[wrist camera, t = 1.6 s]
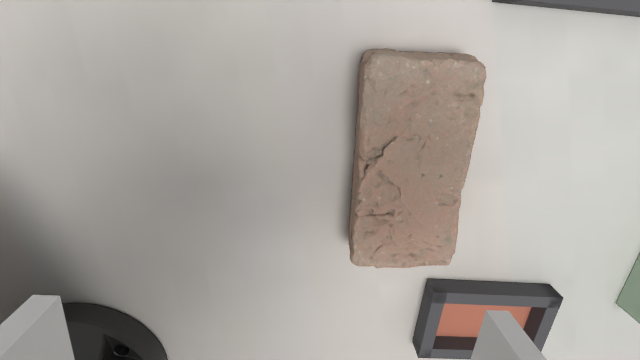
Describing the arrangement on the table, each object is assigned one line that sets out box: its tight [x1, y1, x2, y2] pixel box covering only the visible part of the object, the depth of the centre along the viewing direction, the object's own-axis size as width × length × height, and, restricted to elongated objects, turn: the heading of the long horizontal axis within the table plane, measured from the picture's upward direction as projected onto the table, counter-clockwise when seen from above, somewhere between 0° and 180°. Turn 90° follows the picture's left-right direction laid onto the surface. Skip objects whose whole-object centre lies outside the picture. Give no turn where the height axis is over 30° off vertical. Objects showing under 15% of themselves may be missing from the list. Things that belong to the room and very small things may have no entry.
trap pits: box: [412, 0, 640, 359], centre depth 29 cm, size 12×40×2 cm, turn 175°
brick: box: [349, 49, 486, 268], centre depth 27 cm, size 17×8×5 cm, turn 178°
